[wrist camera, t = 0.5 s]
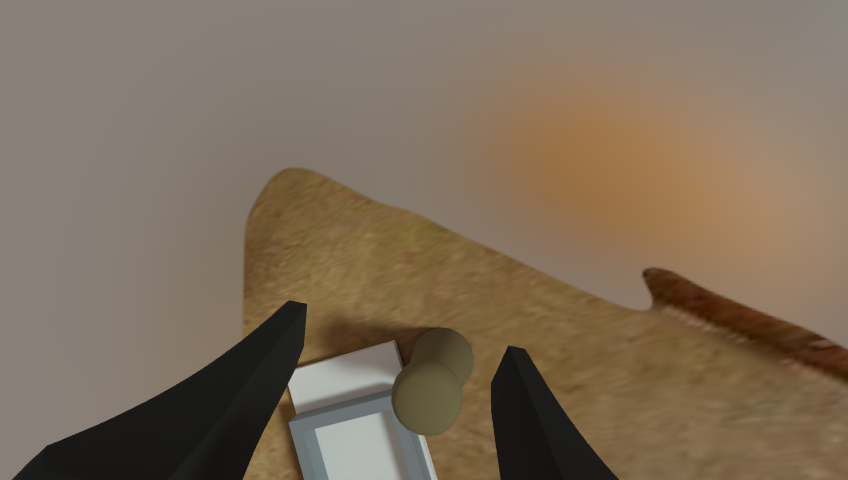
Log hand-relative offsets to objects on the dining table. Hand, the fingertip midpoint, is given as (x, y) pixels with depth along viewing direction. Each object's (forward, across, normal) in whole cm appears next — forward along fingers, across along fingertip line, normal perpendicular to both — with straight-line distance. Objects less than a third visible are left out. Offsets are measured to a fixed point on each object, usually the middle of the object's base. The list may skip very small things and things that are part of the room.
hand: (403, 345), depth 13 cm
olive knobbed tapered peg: (+16, -6, +17) cm, 25 cm away
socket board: (+13, 0, +26) cm, 29 cm away
